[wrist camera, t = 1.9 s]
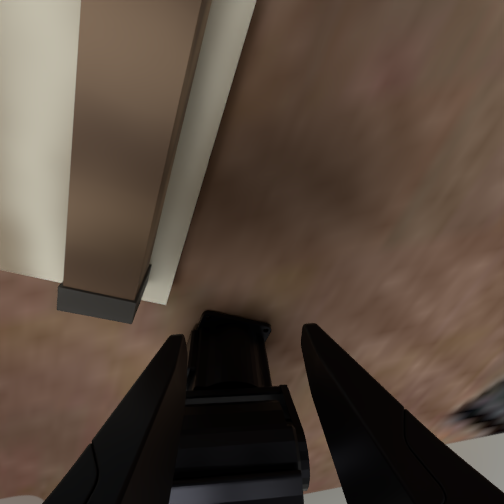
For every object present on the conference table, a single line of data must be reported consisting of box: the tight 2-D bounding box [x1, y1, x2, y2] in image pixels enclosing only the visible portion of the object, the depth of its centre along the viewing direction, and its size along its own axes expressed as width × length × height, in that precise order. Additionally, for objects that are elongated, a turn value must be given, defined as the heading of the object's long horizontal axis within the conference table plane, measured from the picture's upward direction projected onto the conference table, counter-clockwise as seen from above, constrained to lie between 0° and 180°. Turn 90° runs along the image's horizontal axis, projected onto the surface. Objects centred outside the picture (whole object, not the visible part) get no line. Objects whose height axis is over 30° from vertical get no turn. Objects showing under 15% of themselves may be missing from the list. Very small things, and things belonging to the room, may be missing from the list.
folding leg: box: [57, 0, 212, 324], centre depth 12 cm, size 19×4×5 cm, turn 159°
